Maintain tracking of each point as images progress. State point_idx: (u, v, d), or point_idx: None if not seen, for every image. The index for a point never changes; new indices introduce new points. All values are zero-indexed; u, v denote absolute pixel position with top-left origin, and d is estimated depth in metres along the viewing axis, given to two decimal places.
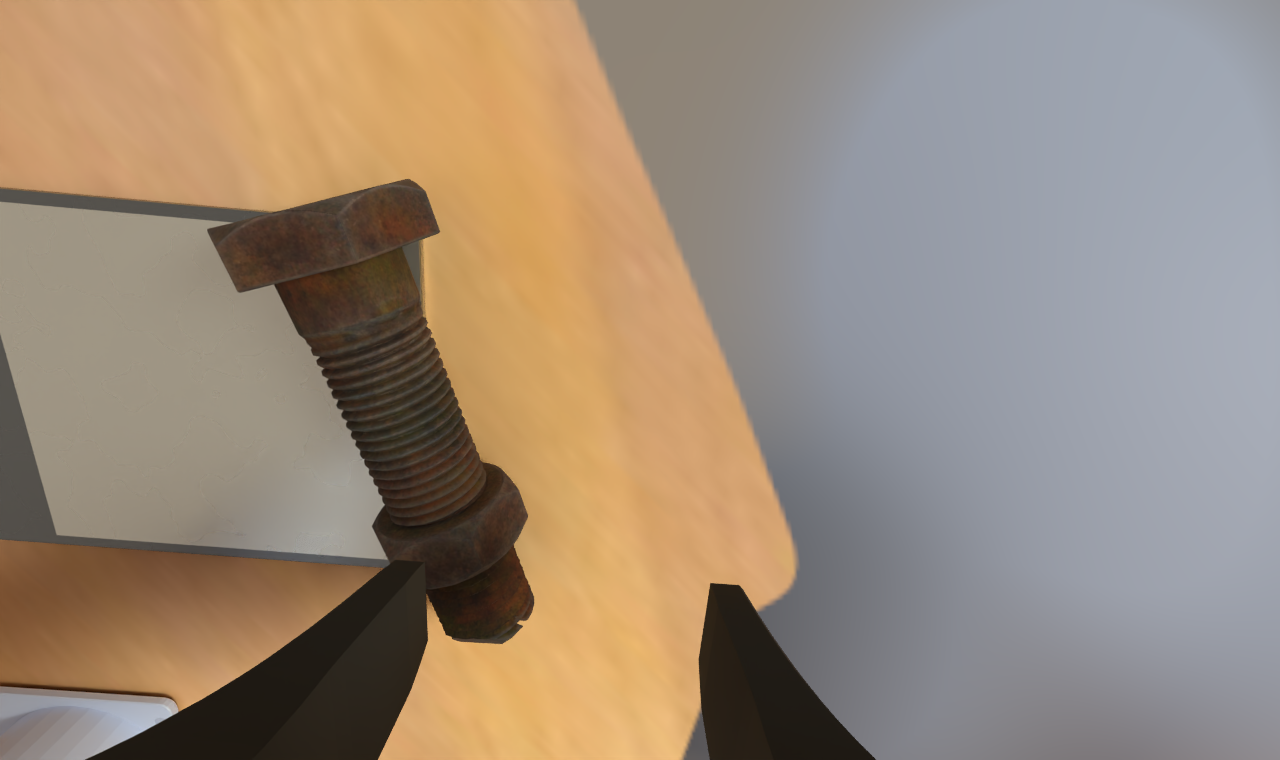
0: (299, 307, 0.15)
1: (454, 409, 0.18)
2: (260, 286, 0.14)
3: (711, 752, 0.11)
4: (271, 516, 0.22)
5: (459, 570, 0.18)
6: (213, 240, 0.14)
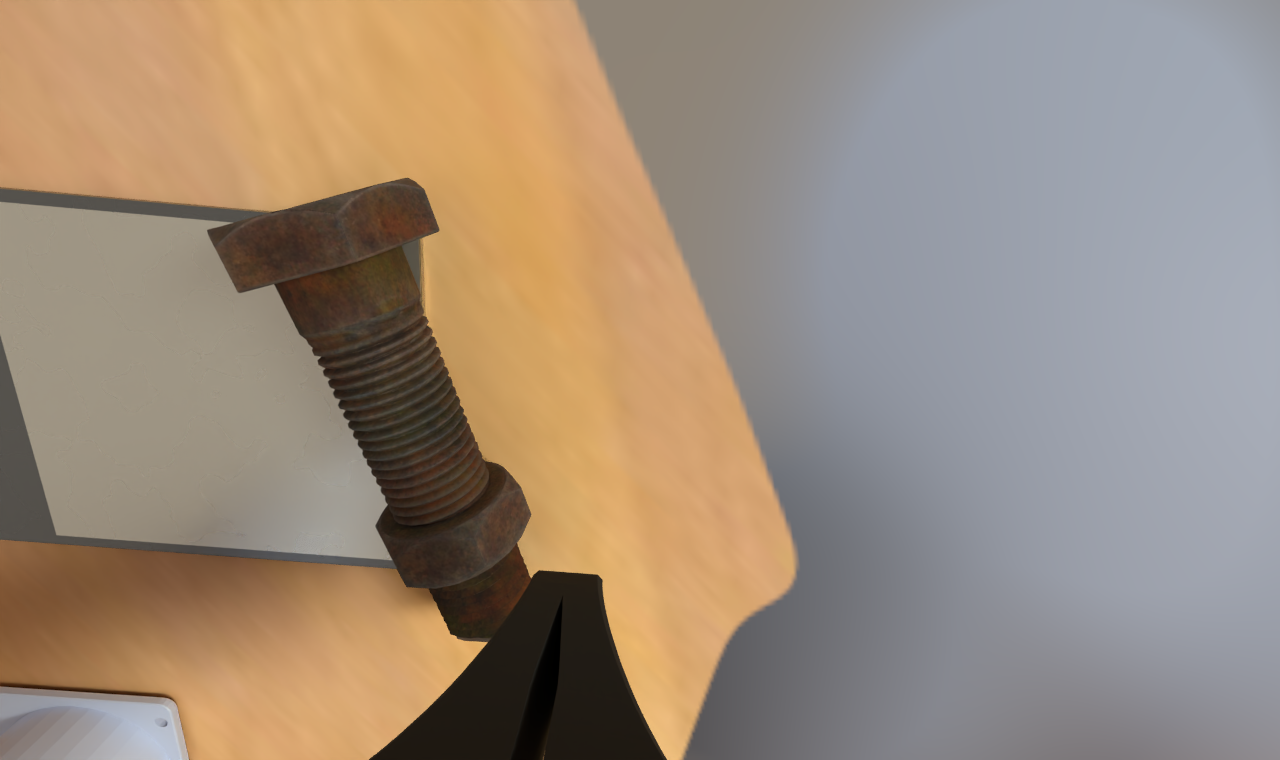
0: (299, 307, 0.15)
1: (456, 408, 0.18)
2: (260, 286, 0.14)
3: None
4: (271, 516, 0.22)
5: (462, 569, 0.18)
6: (213, 240, 0.14)
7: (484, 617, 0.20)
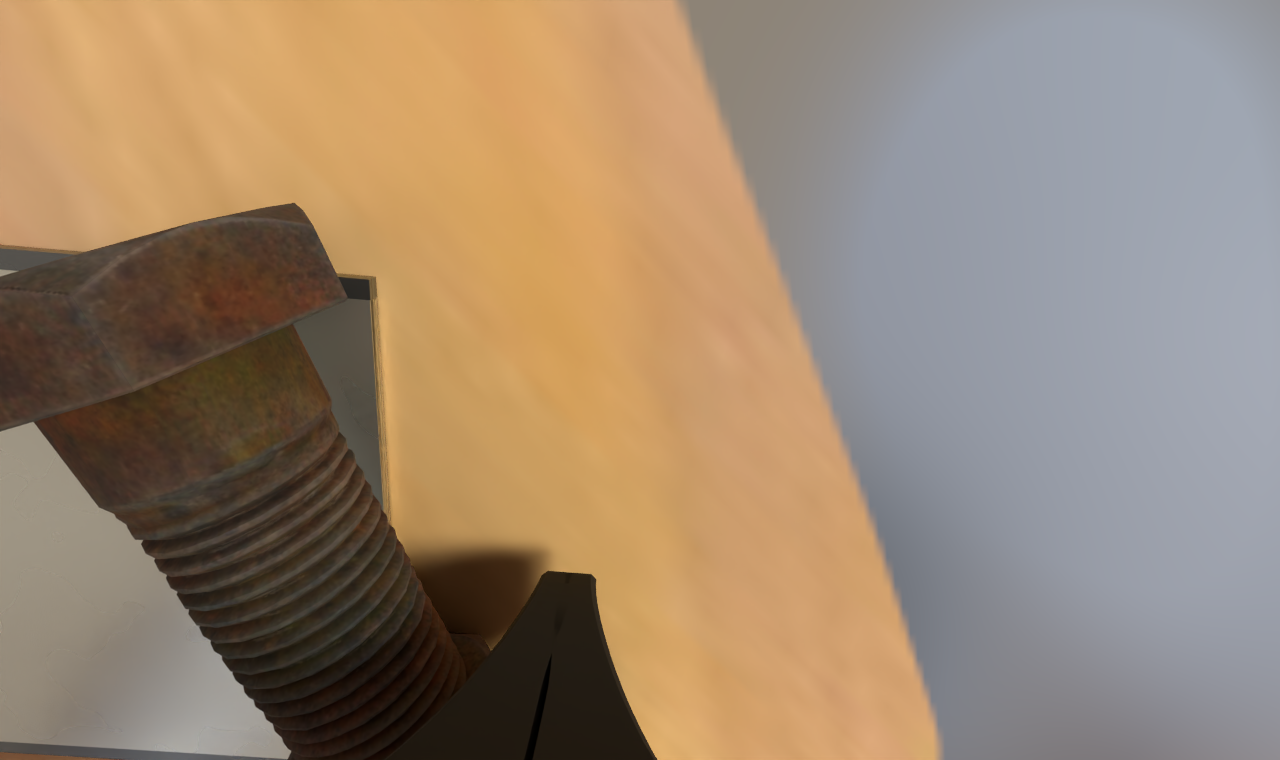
0: (71, 461, 0.08)
1: (401, 592, 0.11)
2: None
3: None
4: (159, 705, 0.15)
5: None
6: None
7: None
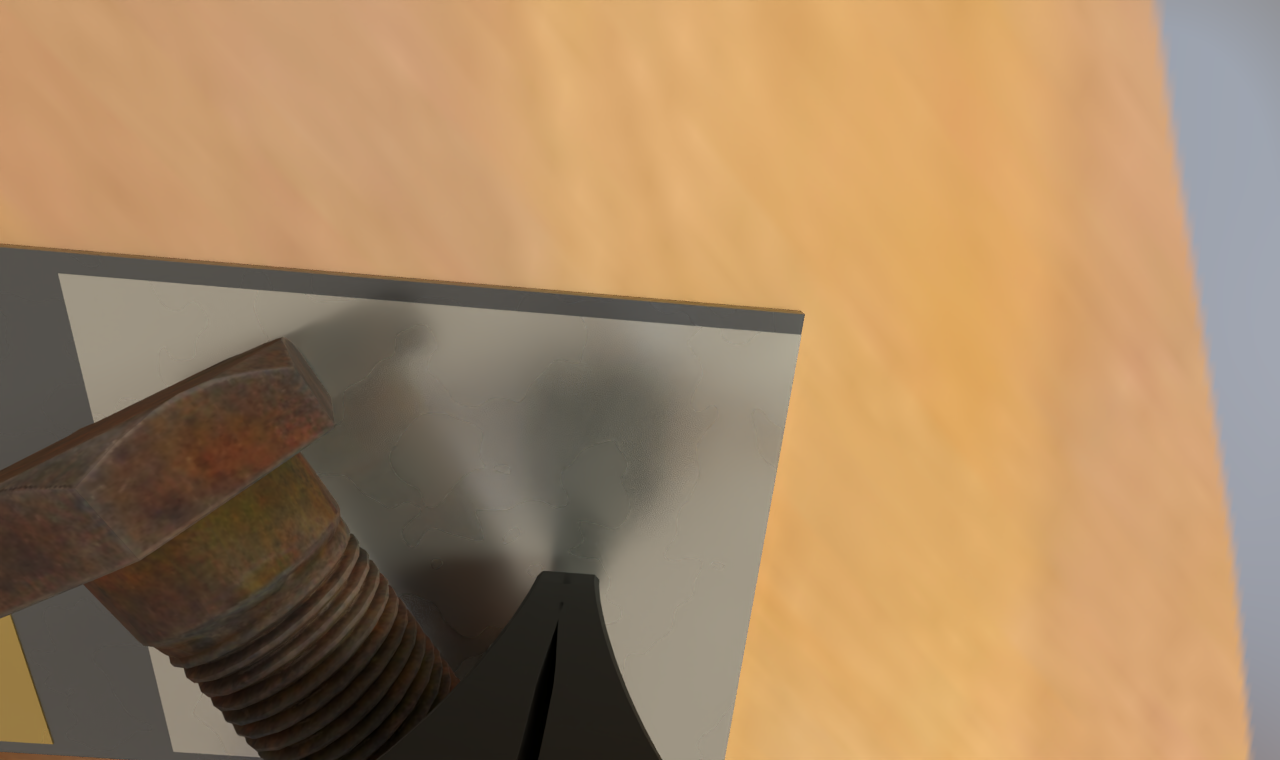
0: (108, 608, 0.09)
1: (424, 683, 0.11)
2: None
3: None
4: None
5: None
6: None
7: None
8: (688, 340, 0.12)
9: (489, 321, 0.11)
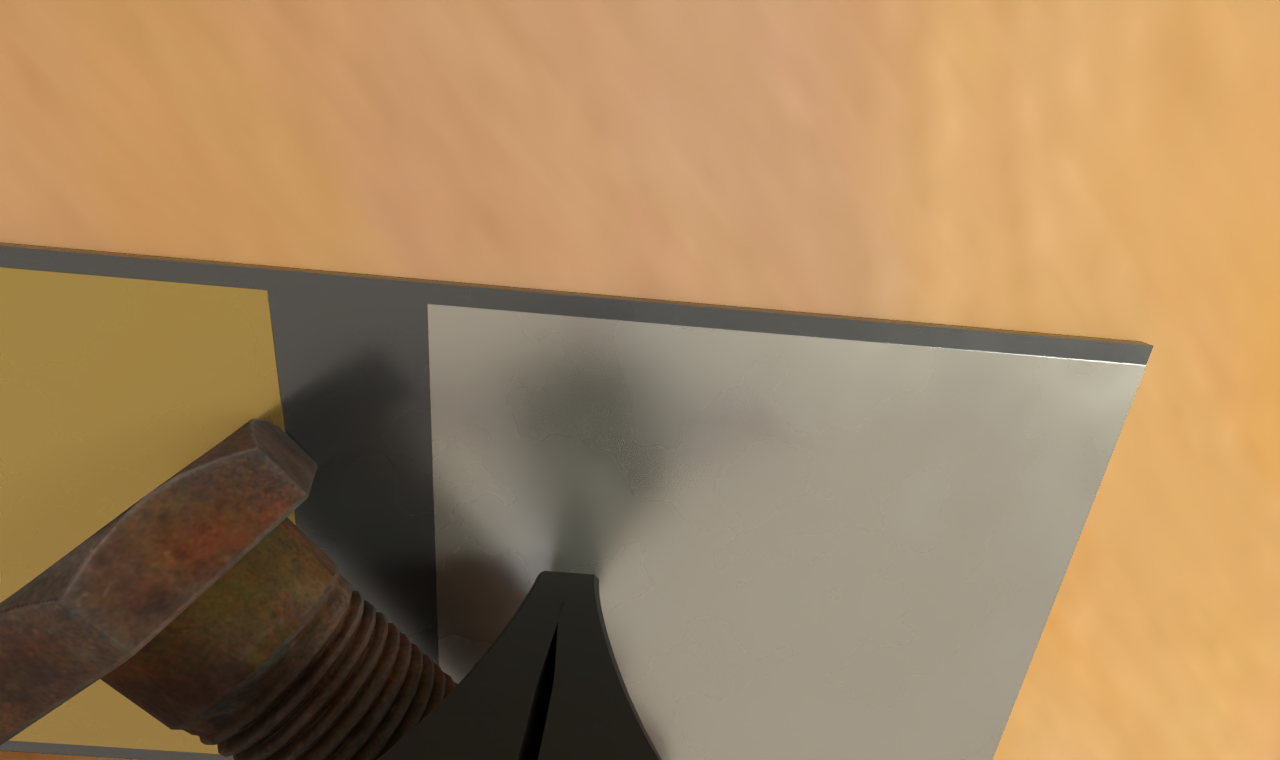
0: (131, 700, 0.09)
1: None
2: (18, 731, 0.08)
3: None
4: (765, 745, 0.15)
5: None
6: None
7: None
8: (1033, 370, 0.12)
9: (841, 351, 0.12)
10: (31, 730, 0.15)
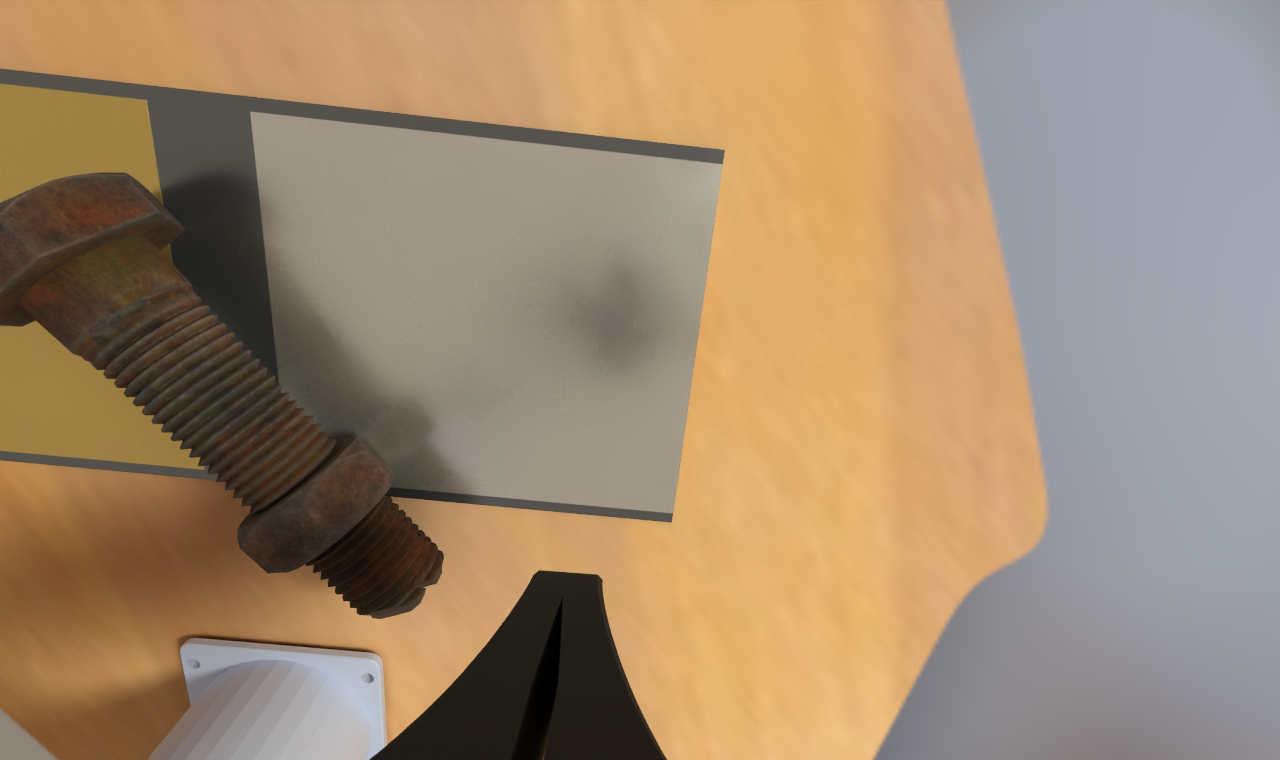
0: (46, 324, 0.16)
1: (260, 385, 0.18)
2: None
3: None
4: (516, 461, 0.21)
5: (309, 542, 0.18)
6: None
7: (369, 588, 0.19)
8: (650, 166, 0.18)
9: (523, 150, 0.18)
10: None
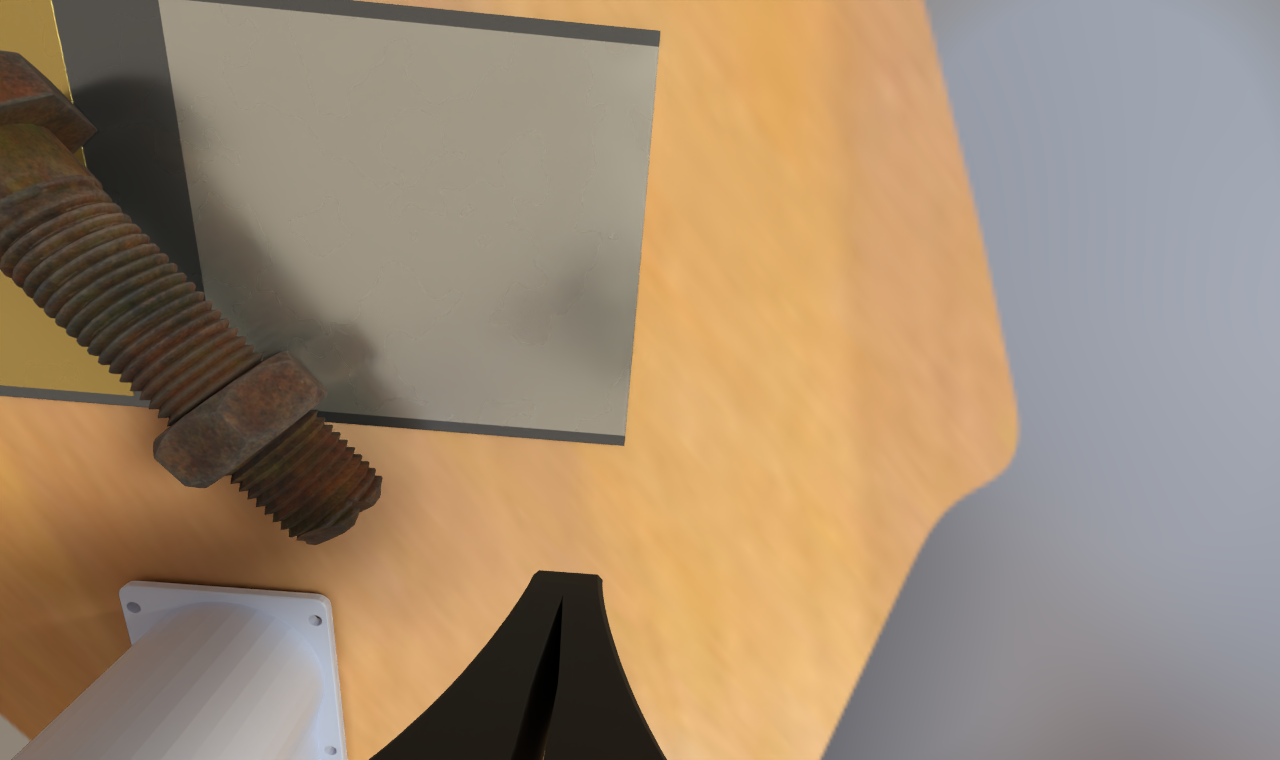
0: None
1: (173, 287, 0.17)
2: None
3: None
4: (458, 381, 0.20)
5: (226, 450, 0.17)
6: None
7: (297, 506, 0.18)
8: (582, 51, 0.17)
9: (447, 35, 0.17)
10: None
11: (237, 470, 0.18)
